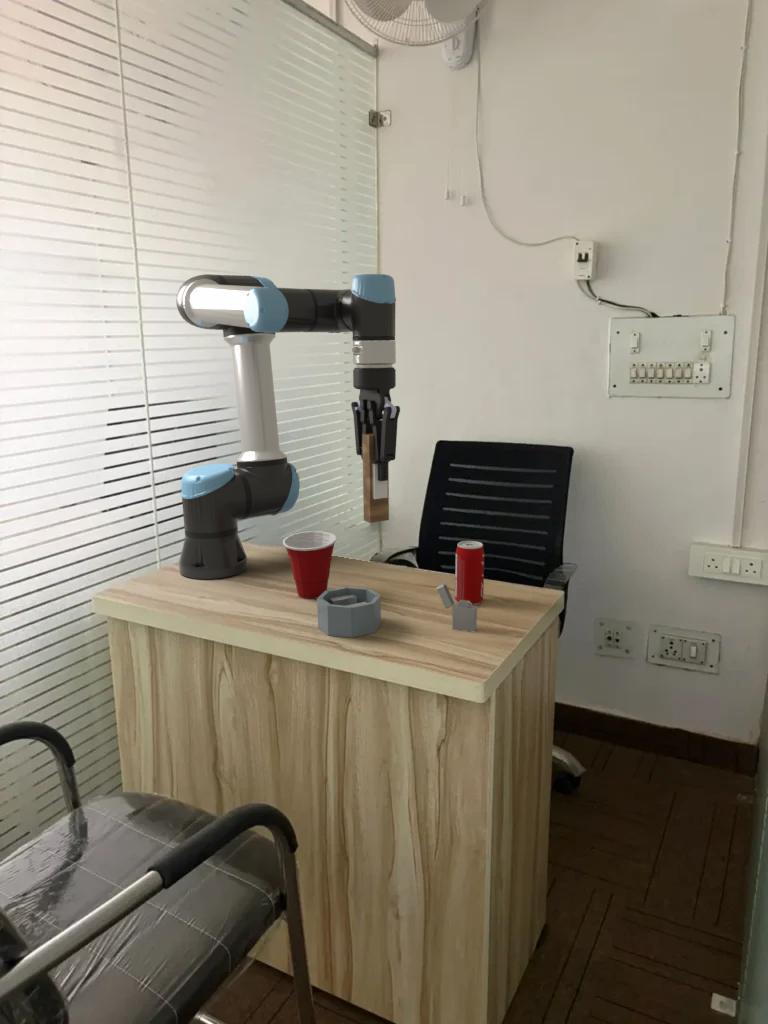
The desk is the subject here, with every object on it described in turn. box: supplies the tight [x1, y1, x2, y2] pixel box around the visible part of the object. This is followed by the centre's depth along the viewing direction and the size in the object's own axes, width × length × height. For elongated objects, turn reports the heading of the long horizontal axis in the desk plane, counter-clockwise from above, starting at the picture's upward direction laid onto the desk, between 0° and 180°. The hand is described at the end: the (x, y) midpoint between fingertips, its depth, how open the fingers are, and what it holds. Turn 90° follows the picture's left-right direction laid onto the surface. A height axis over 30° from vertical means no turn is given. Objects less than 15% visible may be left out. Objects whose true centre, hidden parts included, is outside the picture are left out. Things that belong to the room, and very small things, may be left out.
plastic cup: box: [282, 530, 337, 599], centre depth 150 cm, size 11×11×12 cm
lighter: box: [436, 582, 478, 632], centre depth 132 cm, size 7×2×8 cm, turn 68°
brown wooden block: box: [362, 433, 390, 524], centre depth 135 cm, size 2×4×16 cm, turn 121°
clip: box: [329, 594, 366, 606], centre depth 134 cm, size 6×5×4 cm
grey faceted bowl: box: [316, 586, 382, 639], centre depth 134 cm, size 11×11×6 cm
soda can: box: [454, 540, 485, 606], centre depth 145 cm, size 6×6×12 cm
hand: (375, 496), depth 136 cm, fingers closed on brown wooden block, 2 cm apart
